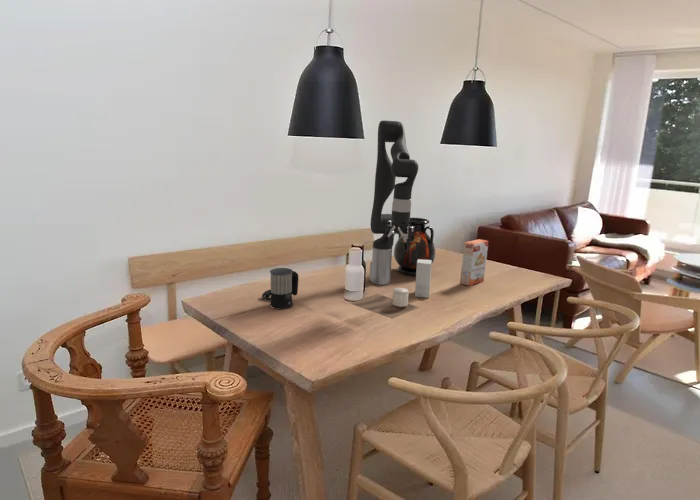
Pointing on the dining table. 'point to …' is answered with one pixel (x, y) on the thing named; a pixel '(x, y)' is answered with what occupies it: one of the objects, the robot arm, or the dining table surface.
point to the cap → (400, 297)
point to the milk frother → (282, 288)
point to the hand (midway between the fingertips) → (398, 248)
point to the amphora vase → (415, 247)
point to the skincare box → (423, 278)
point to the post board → (383, 306)
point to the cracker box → (474, 262)
